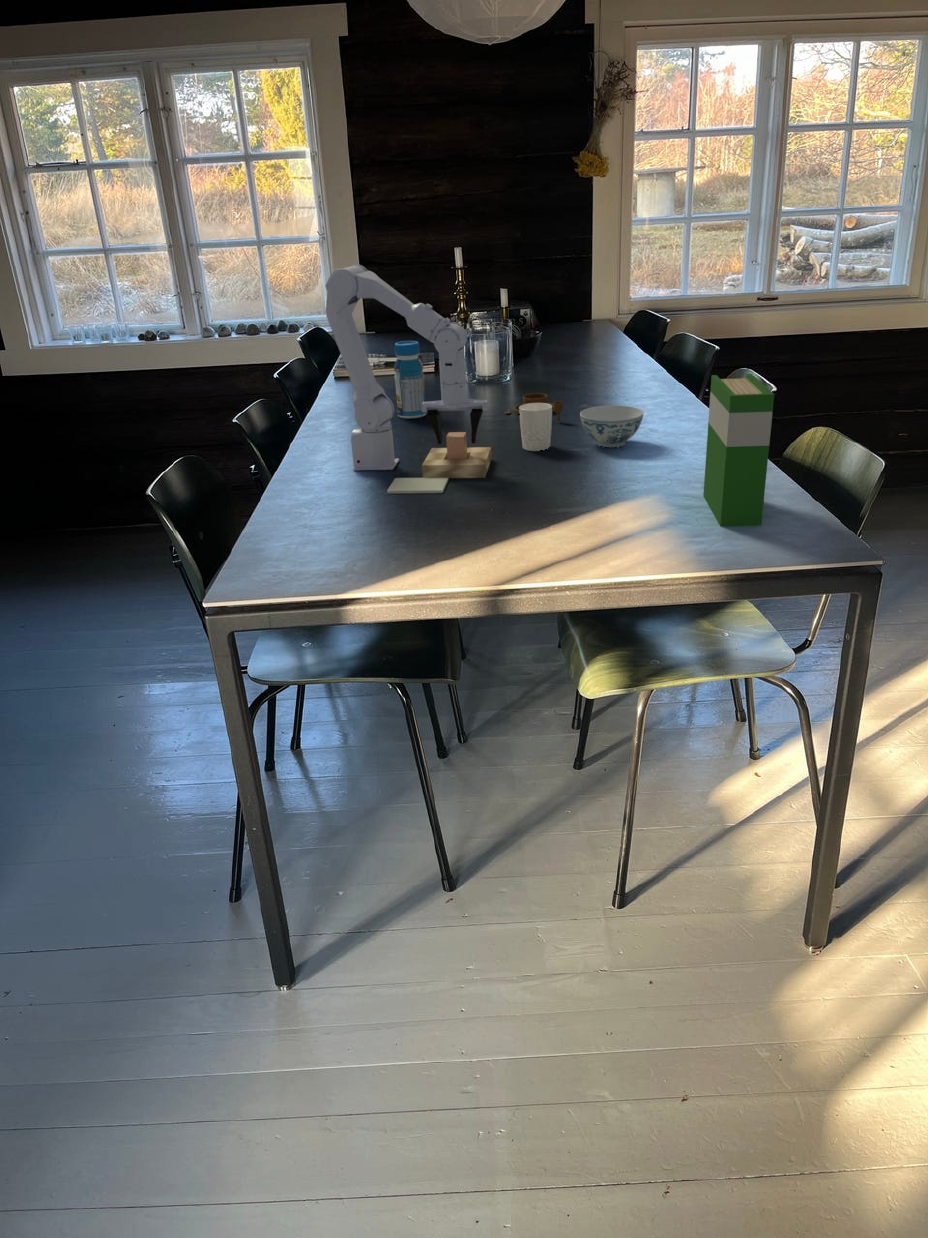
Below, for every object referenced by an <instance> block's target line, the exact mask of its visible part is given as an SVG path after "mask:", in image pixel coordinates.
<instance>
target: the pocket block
mask: <svg viewBox="0 0 928 1238" xmlns="http://www.w3.org/2000/svg"><path fill="white" fill-rule="evenodd" d="M491 462H492V446H487V447H485V446H483V447H482V446H477V447H476V446H475V447H467V459H460V460H447V447H432V448H430V451H429V452H428V454H427V456H426V457H425V459H424V461H423V462H422V464H421V468H422V469H421V470H422V471H421V472H422V478H448V479H478V478H479V479H482V478H483V479H486V476H487V473H488V471H489V469H490V464H491Z"/></svg>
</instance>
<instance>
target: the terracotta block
mask: <svg viewBox="0 0 928 1238" xmlns="http://www.w3.org/2000/svg"><path fill="white" fill-rule="evenodd" d="M445 440H446V448H447V460H460V459H467V448H468V446H467V445H468V444H467V443H468V442H467V432H466V431H465V432H464V431H463V432H462V431H456V432H453V431H451V432H448V433H447V434H446V436H445Z"/></svg>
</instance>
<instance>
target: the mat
mask: <svg viewBox="0 0 928 1238" xmlns="http://www.w3.org/2000/svg"><path fill="white" fill-rule="evenodd" d="M448 482H449V478H423V477H395V478H393V481H392V482H391V484H390V486H389V487H388V488H387V490H386V492H387V494H443V493H444V491H445V489H446V486H447V484H448Z"/></svg>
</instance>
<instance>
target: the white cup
mask: <svg viewBox="0 0 928 1238" xmlns="http://www.w3.org/2000/svg"><path fill="white" fill-rule="evenodd" d="M519 412H520V415H519V424H520V425H519V426H520V434H521V435H520V436H521V443H522V445H521V446H522V449H523V450H525V451H529V452H541V451H540V450H543V451H546V450H545V449H547V450H549V449H550V448H551V436H552V424H553V423H552V422H553V419H552V418H553V413H552V405H550V404H546V403H529V404H524V405H521V406H520V407H519ZM549 447H550V448H549ZM548 448H549V449H548Z"/></svg>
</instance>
